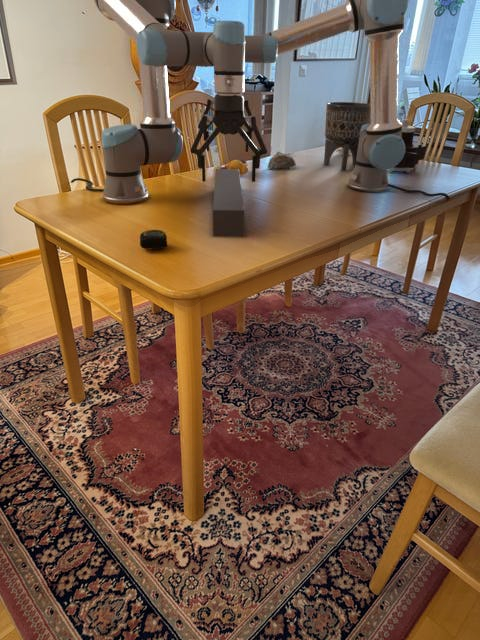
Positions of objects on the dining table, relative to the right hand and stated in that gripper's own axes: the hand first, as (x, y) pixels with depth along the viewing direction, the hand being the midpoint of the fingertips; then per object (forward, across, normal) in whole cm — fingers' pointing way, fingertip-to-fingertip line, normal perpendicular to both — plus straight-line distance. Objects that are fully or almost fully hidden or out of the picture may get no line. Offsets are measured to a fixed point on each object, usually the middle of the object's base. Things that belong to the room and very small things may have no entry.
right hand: (227, 151), depth 159 cm
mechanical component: (+15, +81, +47) cm, 95 cm away
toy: (+15, +4, +31) cm, 34 cm away
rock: (+15, +26, +44) cm, 53 cm away
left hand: (+1, 0, -41) cm, 41 cm away
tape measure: (+15, -19, -56) cm, 61 cm away
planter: (+15, +54, +48) cm, 74 cm away
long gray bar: (+15, 0, -20) cm, 25 cm away
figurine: (+15, +62, +80) cm, 103 cm away
